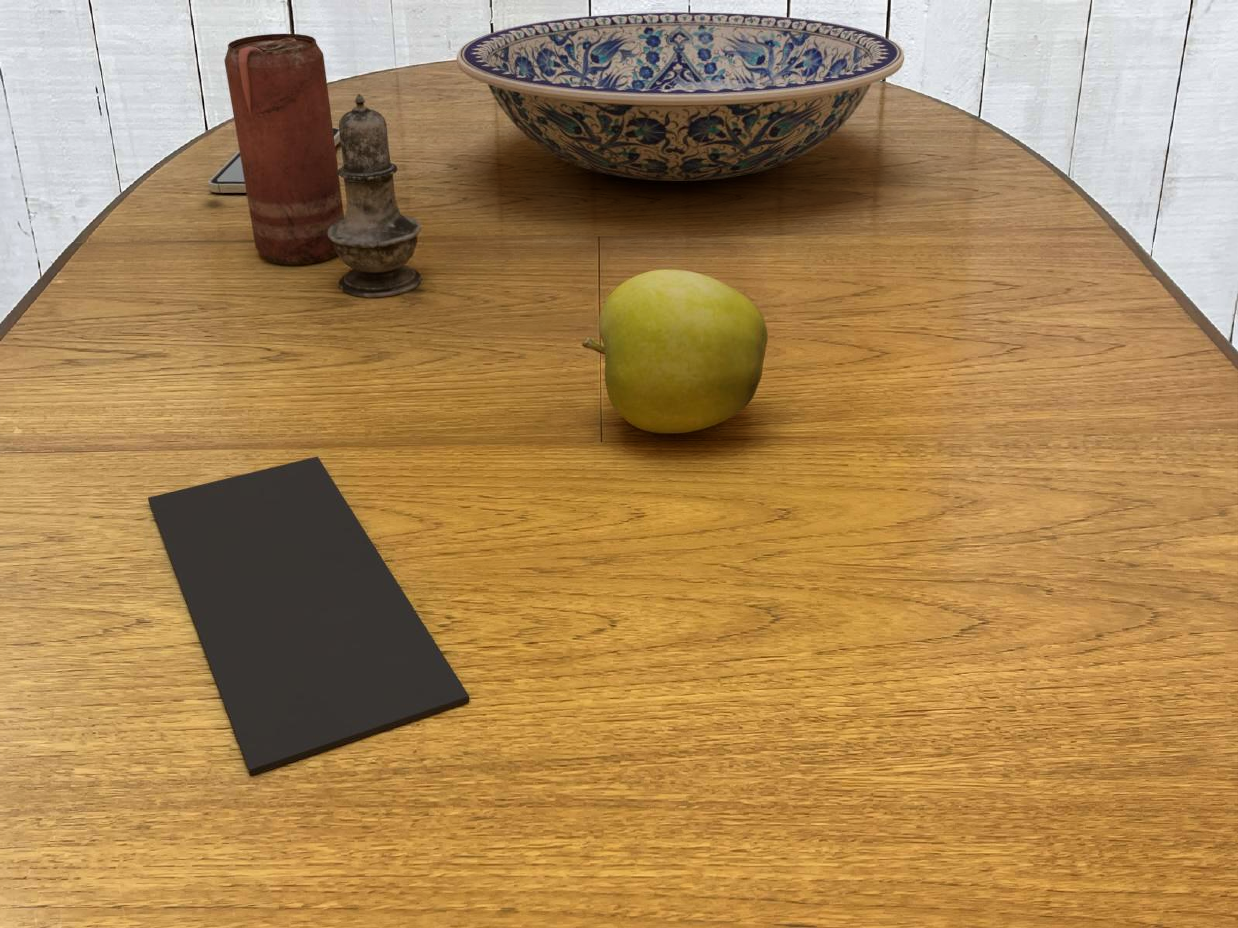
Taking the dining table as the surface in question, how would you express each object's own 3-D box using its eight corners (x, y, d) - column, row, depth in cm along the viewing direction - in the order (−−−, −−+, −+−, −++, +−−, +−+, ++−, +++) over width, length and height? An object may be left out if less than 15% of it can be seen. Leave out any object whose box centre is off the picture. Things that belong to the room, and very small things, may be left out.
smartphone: (203, 184, 97) (261, 127, 110) (206, 196, 97) (263, 138, 110) (297, 184, 96) (344, 127, 109) (299, 196, 97) (346, 138, 110)
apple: (585, 390, 67) (581, 249, 63) (755, 389, 67) (762, 247, 63) (581, 463, 61) (576, 310, 57) (769, 461, 61) (778, 308, 57)
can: (239, 264, 84) (201, 49, 77) (282, 232, 90) (251, 29, 83) (322, 271, 83) (291, 53, 76) (361, 238, 88) (336, 32, 81)
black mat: (250, 776, 43) (248, 769, 42) (148, 502, 58) (147, 497, 58) (470, 702, 46) (469, 695, 46) (318, 461, 61) (317, 455, 61)
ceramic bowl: (858, 111, 116) (868, -3, 111) (930, 240, 87) (948, 94, 82) (489, 113, 117) (482, 0, 112) (436, 242, 88) (423, 97, 82)
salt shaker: (327, 272, 83) (302, 87, 77) (415, 260, 85) (397, 78, 79) (342, 304, 78) (317, 110, 72) (435, 291, 80) (418, 100, 74)
